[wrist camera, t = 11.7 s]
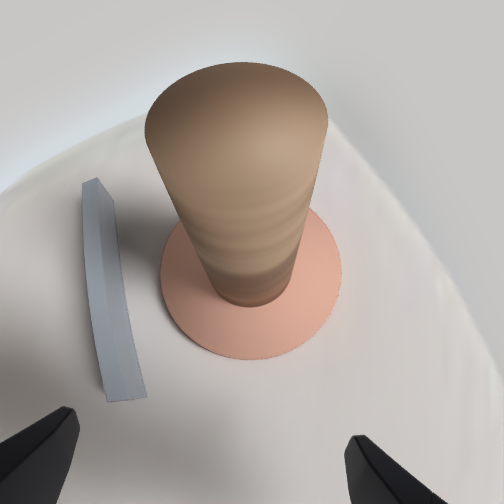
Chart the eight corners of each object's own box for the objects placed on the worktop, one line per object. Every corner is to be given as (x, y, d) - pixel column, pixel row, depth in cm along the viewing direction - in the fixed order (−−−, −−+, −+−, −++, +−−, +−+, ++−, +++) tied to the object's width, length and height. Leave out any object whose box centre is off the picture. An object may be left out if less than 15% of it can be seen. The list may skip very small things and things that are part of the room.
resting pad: (348, 353, 17) (350, 352, 17) (159, 359, 18) (156, 359, 17) (326, 190, 22) (328, 185, 21) (169, 197, 22) (167, 193, 21)
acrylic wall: (147, 396, 17) (127, 398, 14) (129, 400, 17) (107, 402, 14) (113, 200, 22) (97, 177, 19) (99, 205, 22) (82, 183, 19)
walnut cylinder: (303, 293, 18) (360, 159, 7) (219, 317, 18) (154, 210, 7) (277, 219, 20) (289, 53, 9) (200, 240, 20) (140, 84, 9)
